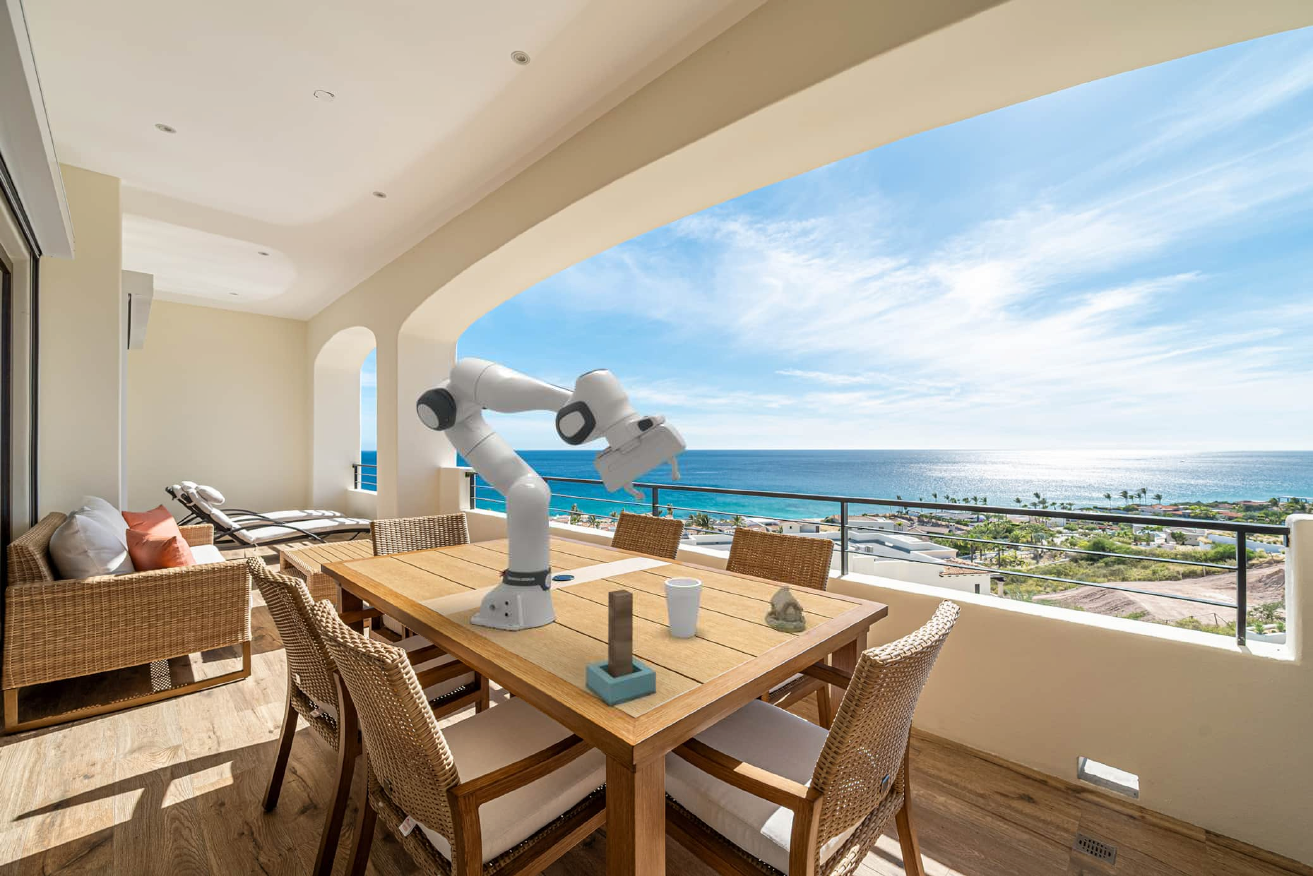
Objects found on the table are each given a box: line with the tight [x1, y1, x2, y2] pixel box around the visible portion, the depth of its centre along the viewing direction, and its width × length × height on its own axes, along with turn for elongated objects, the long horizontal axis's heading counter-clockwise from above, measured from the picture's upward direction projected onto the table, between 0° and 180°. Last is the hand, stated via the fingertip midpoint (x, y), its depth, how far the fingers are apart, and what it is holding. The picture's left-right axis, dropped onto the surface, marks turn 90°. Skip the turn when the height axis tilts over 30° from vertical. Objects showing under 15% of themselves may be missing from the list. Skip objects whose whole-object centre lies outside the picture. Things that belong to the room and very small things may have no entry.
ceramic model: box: [764, 585, 806, 633], centre depth 144 cm, size 14×11×10 cm
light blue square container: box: [585, 656, 657, 707], centre depth 105 cm, size 10×10×4 cm
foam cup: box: [664, 577, 703, 639], centre depth 136 cm, size 10×9×13 cm
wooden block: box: [607, 589, 634, 678], centre depth 105 cm, size 4×4×18 cm
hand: (659, 489), depth 116 cm, fingers open, 8 cm apart
